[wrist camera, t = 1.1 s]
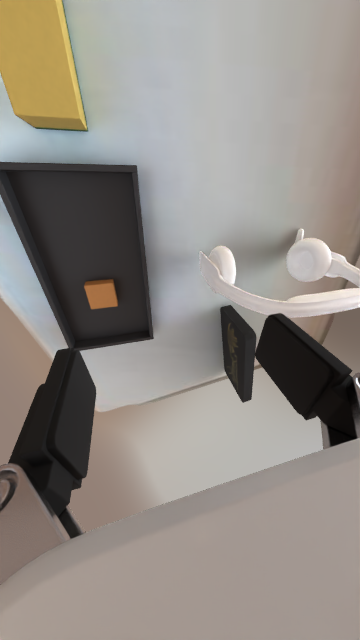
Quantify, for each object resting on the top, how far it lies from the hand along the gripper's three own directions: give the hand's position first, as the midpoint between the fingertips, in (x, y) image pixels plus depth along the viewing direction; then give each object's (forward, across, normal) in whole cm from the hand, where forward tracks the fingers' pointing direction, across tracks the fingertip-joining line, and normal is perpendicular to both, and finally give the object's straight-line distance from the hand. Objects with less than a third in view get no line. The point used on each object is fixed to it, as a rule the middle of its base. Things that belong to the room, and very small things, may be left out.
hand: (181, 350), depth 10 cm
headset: (+23, -18, +4) cm, 30 cm away
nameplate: (+23, -17, +24) cm, 37 cm away
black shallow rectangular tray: (+23, +7, +4) cm, 25 cm away
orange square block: (+22, +7, +7) cm, 25 cm away
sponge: (+23, +7, -15) cm, 29 cm away
